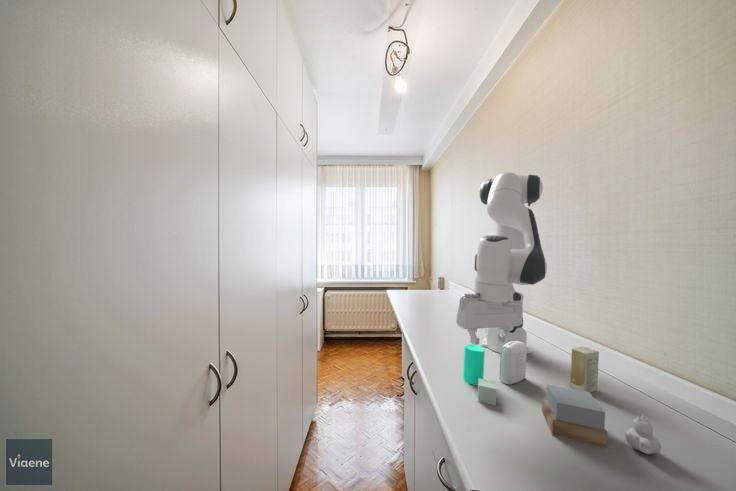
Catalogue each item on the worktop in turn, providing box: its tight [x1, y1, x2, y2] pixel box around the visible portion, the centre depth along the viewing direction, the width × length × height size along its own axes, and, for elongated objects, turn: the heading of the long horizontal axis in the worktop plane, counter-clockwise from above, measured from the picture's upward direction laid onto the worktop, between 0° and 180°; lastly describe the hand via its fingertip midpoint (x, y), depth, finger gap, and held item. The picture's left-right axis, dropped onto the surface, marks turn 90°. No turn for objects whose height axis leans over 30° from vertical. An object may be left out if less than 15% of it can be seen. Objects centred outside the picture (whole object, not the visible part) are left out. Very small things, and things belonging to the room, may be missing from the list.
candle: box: [462, 344, 485, 386], centre depth 88 cm, size 6×6×12 cm
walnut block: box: [541, 397, 608, 449], centre depth 67 cm, size 10×10×4 cm
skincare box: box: [569, 346, 600, 393], centre depth 86 cm, size 6×4×12 cm
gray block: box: [545, 383, 606, 430], centre depth 67 cm, size 9×9×4 cm
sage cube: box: [477, 378, 498, 406], centre depth 78 cm, size 4×4×4 cm
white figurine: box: [624, 412, 662, 455], centre depth 60 cm, size 5×7×8 cm
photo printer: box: [498, 341, 528, 385], centre depth 90 cm, size 10×4×12 cm, turn 124°
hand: (488, 342), depth 78 cm, fingers open, 8 cm apart
